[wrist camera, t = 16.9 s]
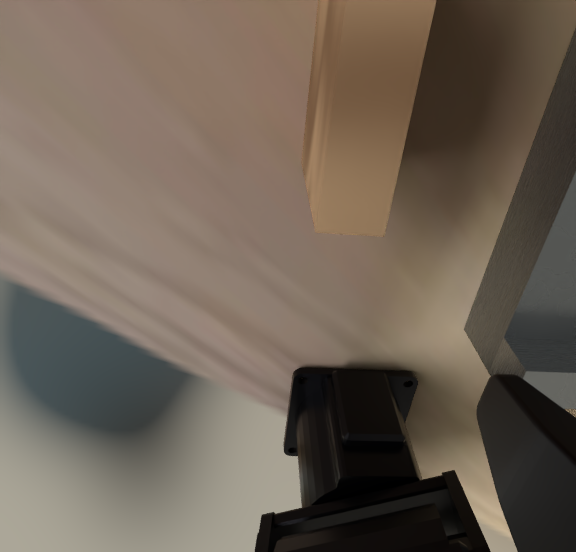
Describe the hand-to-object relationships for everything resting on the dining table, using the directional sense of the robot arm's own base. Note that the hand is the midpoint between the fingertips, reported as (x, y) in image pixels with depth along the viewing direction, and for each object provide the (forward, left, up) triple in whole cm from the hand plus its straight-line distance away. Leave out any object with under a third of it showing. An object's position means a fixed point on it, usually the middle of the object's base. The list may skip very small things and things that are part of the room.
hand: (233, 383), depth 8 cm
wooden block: (+4, -3, -12) cm, 13 cm away
